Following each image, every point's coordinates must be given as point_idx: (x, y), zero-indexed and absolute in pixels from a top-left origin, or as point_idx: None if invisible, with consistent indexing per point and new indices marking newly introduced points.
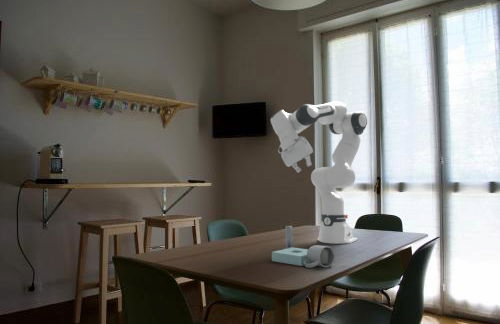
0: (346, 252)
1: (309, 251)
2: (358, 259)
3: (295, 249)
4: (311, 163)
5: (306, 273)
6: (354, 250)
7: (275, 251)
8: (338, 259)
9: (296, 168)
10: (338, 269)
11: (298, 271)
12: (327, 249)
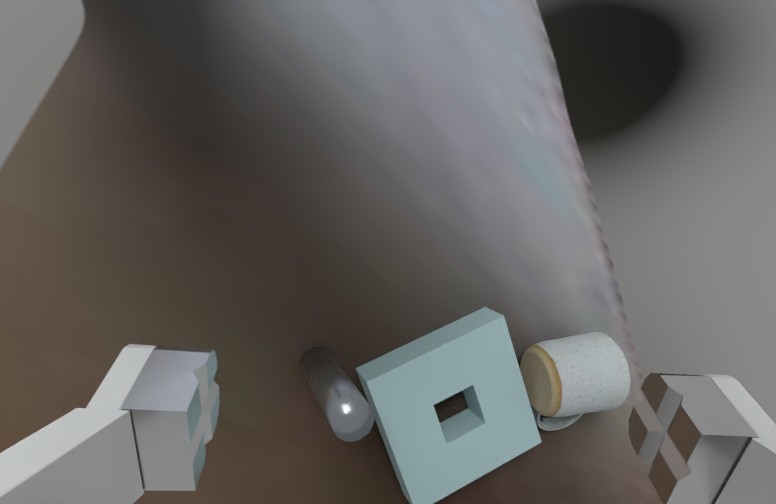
0: (420, 90)
1: (561, 416)
2: (550, 165)
3: (419, 394)
4: (741, 391)
5: (601, 459)
6: (401, 10)
7: (414, 494)
8: (511, 236)
9: (130, 490)
10: (615, 341)
11: (572, 470)
12: (597, 354)
